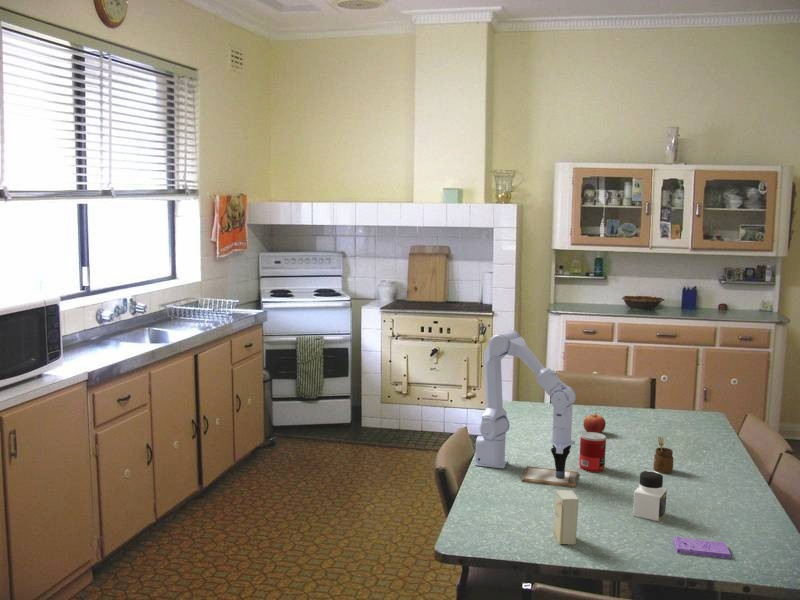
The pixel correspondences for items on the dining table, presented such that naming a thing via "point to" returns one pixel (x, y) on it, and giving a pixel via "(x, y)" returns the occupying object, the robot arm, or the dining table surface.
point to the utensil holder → (663, 459)
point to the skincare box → (565, 517)
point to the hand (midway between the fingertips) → (560, 469)
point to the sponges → (701, 547)
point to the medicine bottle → (650, 496)
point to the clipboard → (549, 477)
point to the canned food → (592, 451)
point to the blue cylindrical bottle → (560, 474)
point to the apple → (594, 423)
